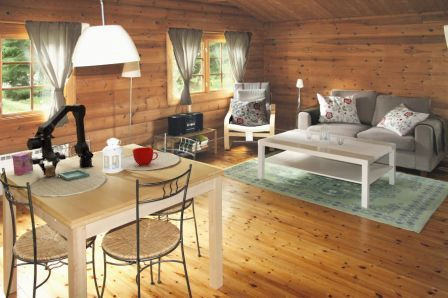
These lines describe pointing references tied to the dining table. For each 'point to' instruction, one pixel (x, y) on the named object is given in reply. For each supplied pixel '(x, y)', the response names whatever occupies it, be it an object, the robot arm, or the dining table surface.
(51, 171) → the cube
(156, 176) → the dining table surface
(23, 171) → the box
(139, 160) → the ceramic cup
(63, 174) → the tray
